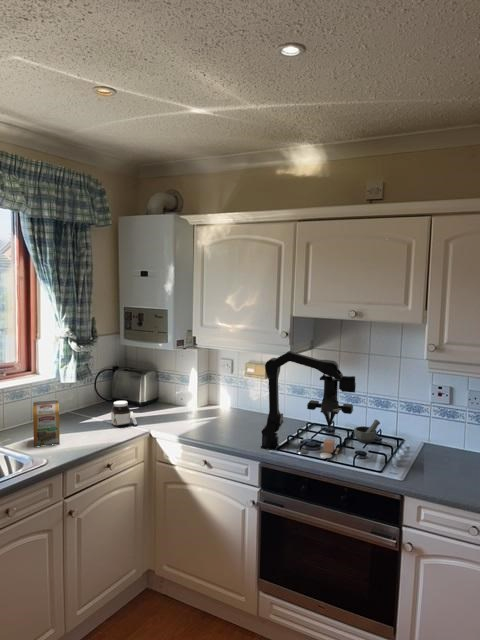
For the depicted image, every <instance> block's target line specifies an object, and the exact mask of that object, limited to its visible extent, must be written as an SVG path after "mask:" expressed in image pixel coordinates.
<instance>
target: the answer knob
mask: <svg viewBox="0 0 480 640" xmlns="http://www.w3.org/2000/svg"><path fill="white" fill-rule="evenodd" d="M334 451H335V440H333V439H328V438H327V439H326V438H325V439H324V441H323V452H324V453H334Z"/></svg>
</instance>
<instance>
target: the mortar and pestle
mask: <svg viewBox="0 0 480 640" xmlns="http://www.w3.org/2000/svg"><path fill="white" fill-rule="evenodd" d="M380 424H381V422H380V420H378V419H374V420H373V422H372V423H371V425H370V426H356V427H354V429H353V433H354V436H355V438H356V440H357V441H358V442H359V443H361V444H366V445H367V444H372V442H373V441H375V439H376V437H377V432H378V431H377V428H378V426H379V425H380Z"/></svg>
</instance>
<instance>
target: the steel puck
mask: <svg viewBox="0 0 480 640" xmlns="http://www.w3.org/2000/svg"><path fill="white" fill-rule="evenodd" d="M296 453H297V454H299V455H304V456H305V455H308V454H310V453H309V451H308V450H307V449H297V451H296Z"/></svg>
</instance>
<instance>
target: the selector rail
mask: <svg viewBox="0 0 480 640" xmlns="http://www.w3.org/2000/svg"><path fill="white" fill-rule="evenodd" d="M301 445H302V443H301V442H298V443H297V444H296V446H295V447H294V448H295V449H297V450H299V447H300V446H301ZM334 451H335V452H334V454H335V455H338V452H339V451H340V448H339V447H337V448H336V449H335V450H334Z"/></svg>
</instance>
